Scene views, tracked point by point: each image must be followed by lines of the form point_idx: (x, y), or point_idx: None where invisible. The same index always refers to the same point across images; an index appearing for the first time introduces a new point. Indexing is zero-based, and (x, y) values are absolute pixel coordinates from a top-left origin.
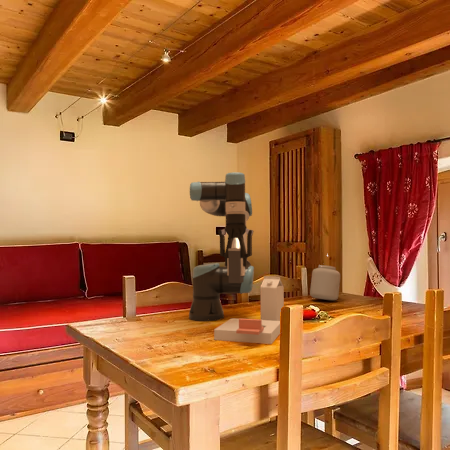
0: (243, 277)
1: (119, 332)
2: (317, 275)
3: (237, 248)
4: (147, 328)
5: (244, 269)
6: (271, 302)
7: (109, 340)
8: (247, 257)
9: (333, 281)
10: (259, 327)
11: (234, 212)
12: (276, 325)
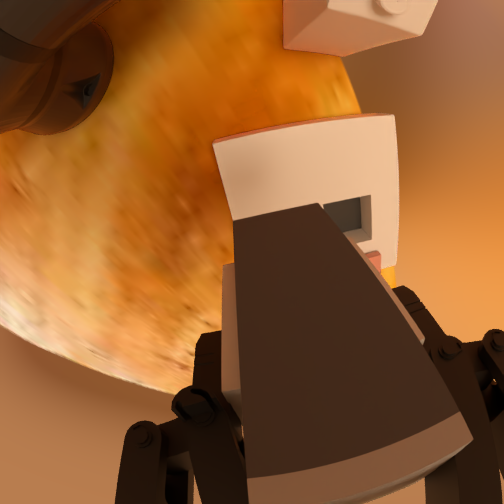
0: (327, 214)
1: (50, 319)
2: None
3: (388, 493)
4: (48, 273)
5: (370, 266)
6: (359, 40)
7: (92, 359)
8: (455, 341)
9: None
10: None
11: None
12: (394, 180)
